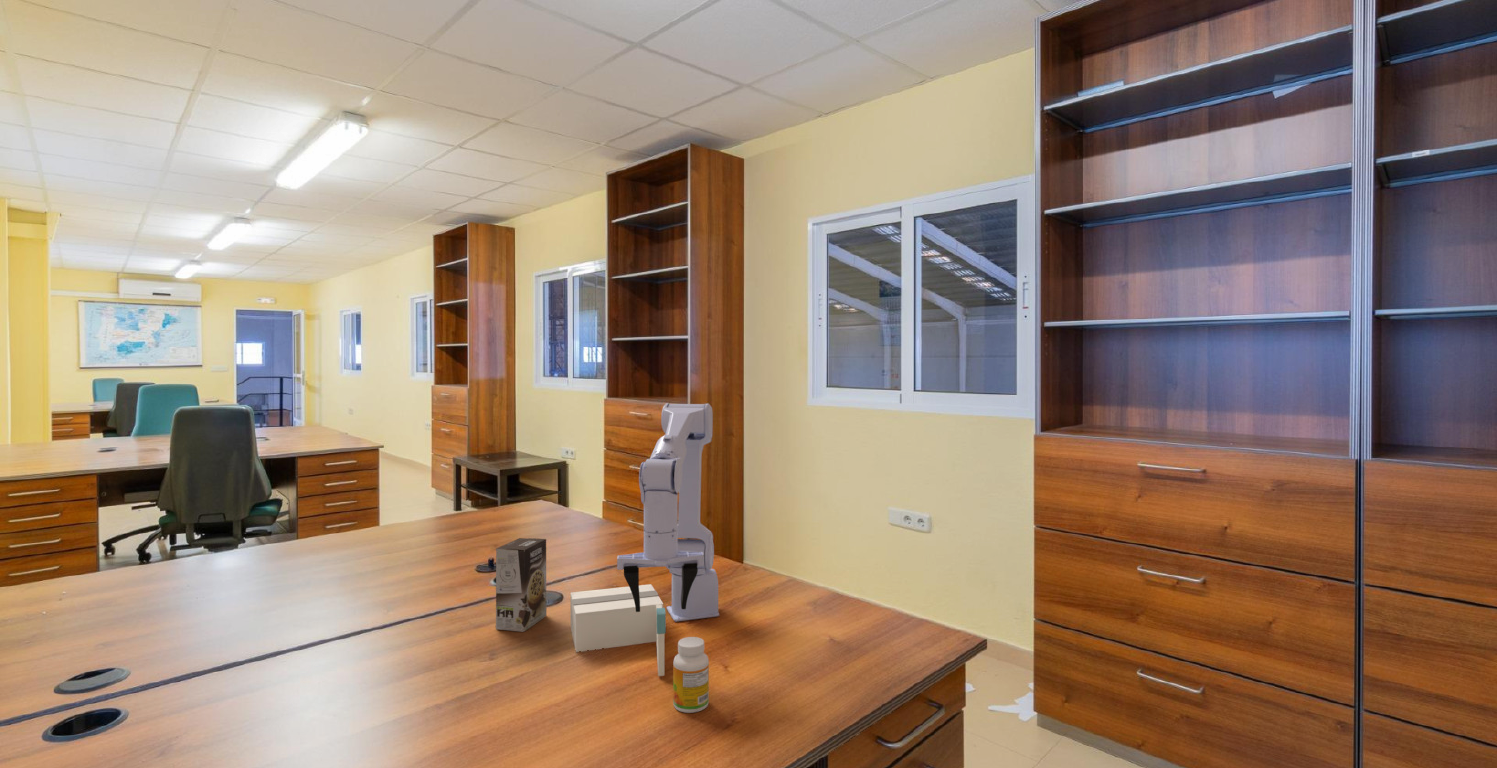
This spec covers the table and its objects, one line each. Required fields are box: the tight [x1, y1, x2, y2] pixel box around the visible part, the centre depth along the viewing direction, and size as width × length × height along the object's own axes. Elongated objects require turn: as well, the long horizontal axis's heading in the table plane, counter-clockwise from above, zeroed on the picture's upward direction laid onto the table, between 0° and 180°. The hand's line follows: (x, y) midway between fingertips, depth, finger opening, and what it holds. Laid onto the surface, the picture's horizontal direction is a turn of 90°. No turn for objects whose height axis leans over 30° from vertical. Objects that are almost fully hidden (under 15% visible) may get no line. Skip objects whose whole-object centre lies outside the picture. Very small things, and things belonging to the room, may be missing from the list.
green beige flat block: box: [655, 604, 667, 677], centre depth 118 cm, size 14×1×10 cm, turn 9°
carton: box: [570, 584, 664, 653], centre depth 129 cm, size 16×12×7 cm
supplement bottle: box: [672, 636, 710, 714], centre depth 102 cm, size 5×5×10 cm
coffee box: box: [495, 537, 547, 633], centre depth 135 cm, size 9×6×16 cm
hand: (660, 608), depth 114 cm, fingers open, 7 cm apart
